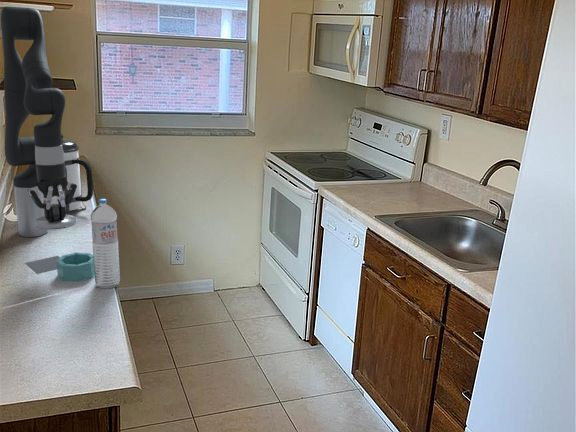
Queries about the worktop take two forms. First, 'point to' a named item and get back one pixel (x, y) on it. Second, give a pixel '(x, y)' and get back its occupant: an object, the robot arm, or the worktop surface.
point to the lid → (55, 220)
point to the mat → (44, 264)
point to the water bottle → (105, 246)
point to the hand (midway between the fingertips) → (55, 219)
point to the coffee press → (75, 175)
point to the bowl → (75, 267)
